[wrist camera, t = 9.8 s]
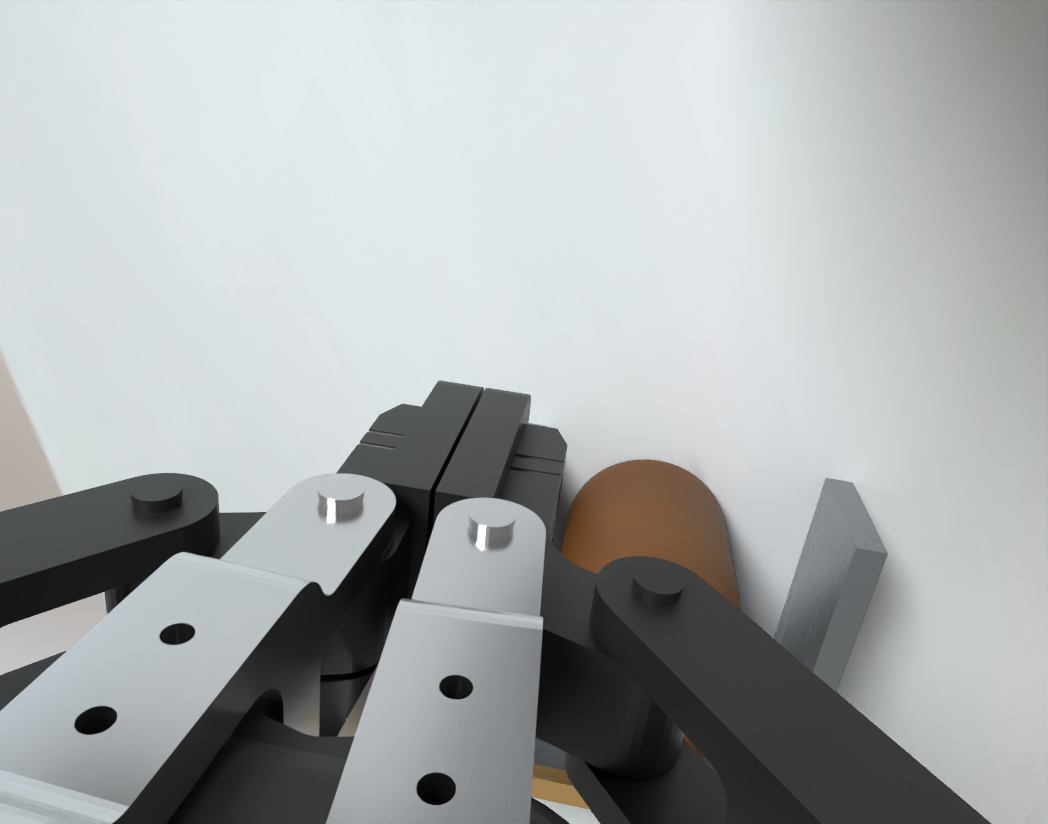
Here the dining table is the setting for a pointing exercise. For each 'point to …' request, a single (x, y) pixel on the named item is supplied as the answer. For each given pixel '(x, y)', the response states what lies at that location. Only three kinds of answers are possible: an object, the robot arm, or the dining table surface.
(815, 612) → the bracket
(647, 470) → the mug
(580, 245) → the dining table surface
